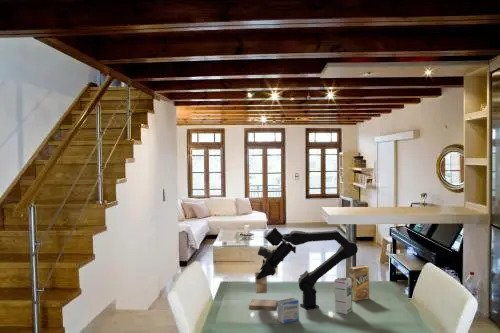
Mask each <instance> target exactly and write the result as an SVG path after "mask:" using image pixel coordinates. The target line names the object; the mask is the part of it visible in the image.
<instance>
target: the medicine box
mask: <svg viewBox="0 0 500 333" xmlns="http://www.w3.org/2000/svg"><path fill="white" fill-rule="evenodd" d="M299 303H300V302H299V299H297V298H295V297H291V298H285V299H280V300H277V321H278V322H280V323H281V324H284V325H285V323H286V324H289V323H294V322H297V321H299V320H300V315H299V314H300V313H299V312H300V311H299V309H300V307H299V306H300V304H299Z"/></svg>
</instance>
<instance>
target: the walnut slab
mask: <svg viewBox="0 0 500 333" xmlns="http://www.w3.org/2000/svg"><path fill="white" fill-rule="evenodd" d="M277 307H278V299H264V298H263V299H262V298H261V299H260V298H252V299H251V300H250V302H249V305H248V309H250V310H251V309H252V310H253V309H254V310H269V311H270V310H274V311H276V309H277Z"/></svg>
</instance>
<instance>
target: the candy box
mask: <svg viewBox="0 0 500 333" xmlns="http://www.w3.org/2000/svg"><path fill="white" fill-rule="evenodd" d="M348 276H349V277H348V278H351V280H352V301H354V302H355V301H361V300H362V301H363V300H368V299H370V266H367V265H364V264H363V265H355V266H350V267H348Z"/></svg>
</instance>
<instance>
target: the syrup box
mask: <svg viewBox="0 0 500 333" xmlns="http://www.w3.org/2000/svg"><path fill="white" fill-rule="evenodd" d="M333 280H334V281H333V283H334V309H335V310H334V311H335V313H339V314H345V315H348V314H349V313H351V312H352V311H353V300H352V280H351V278H349V277H345V276H339V277H337V278H336V279H333Z"/></svg>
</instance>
